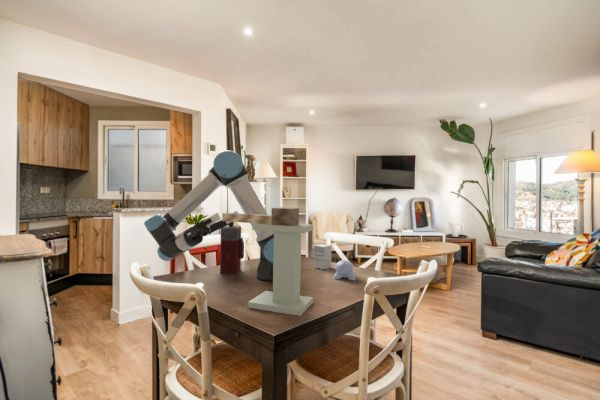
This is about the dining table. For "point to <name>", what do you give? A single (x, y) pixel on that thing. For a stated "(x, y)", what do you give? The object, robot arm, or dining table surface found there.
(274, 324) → the dining table surface
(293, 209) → the mallet
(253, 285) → the dining table surface
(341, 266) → the hippopotamus toy
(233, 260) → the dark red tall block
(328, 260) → the supplement box
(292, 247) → the stand
